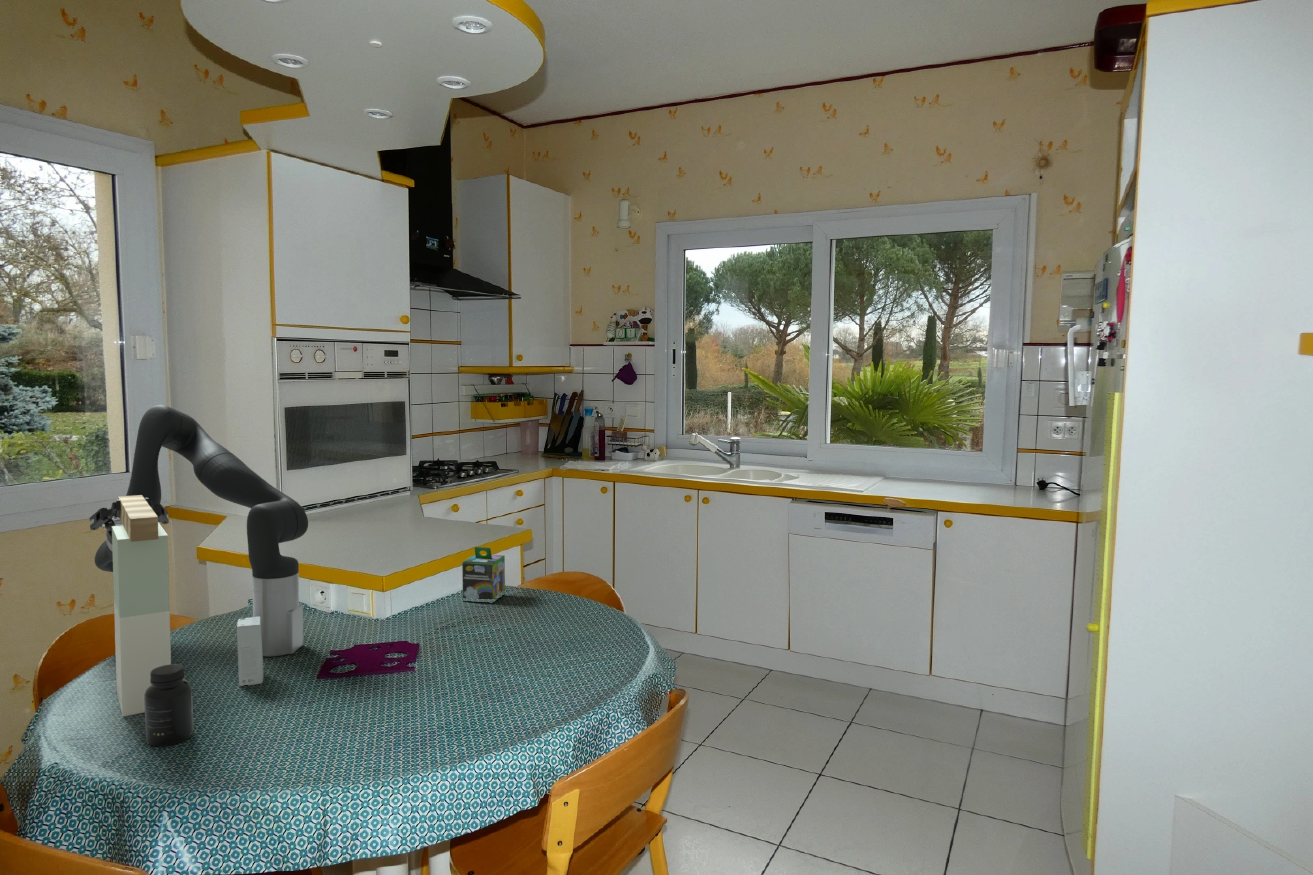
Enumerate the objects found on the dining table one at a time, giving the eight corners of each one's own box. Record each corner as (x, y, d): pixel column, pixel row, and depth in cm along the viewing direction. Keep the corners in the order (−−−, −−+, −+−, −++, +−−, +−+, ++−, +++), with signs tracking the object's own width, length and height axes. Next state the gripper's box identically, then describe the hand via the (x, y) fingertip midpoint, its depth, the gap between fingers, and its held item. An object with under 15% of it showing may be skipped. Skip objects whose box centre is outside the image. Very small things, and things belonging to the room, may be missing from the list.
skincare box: (263, 683, 154) (262, 624, 153) (237, 687, 152) (236, 626, 151) (263, 672, 159) (262, 615, 158) (238, 675, 157) (237, 617, 156)
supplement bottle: (159, 728, 134) (158, 661, 133) (201, 728, 134) (199, 661, 133) (136, 747, 127) (134, 676, 126) (180, 747, 127) (178, 676, 126)
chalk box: (505, 595, 219) (506, 543, 218) (492, 604, 210) (493, 550, 209) (475, 592, 221) (475, 541, 220) (461, 601, 212) (461, 548, 211)
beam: (118, 516, 156) (118, 496, 156) (142, 514, 158) (141, 495, 158) (131, 541, 134) (130, 518, 134) (158, 539, 136) (157, 516, 136)
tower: (116, 690, 149) (111, 526, 146) (162, 681, 153) (158, 522, 151) (122, 716, 138) (117, 539, 135) (171, 706, 142) (167, 535, 140)
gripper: (85, 519, 161) (87, 488, 149) (165, 513, 170) (173, 483, 157) (87, 554, 158) (89, 524, 146) (168, 545, 167) (177, 517, 155)
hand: (133, 503), depth 152 cm, fingers closed on beam, 4 cm apart
